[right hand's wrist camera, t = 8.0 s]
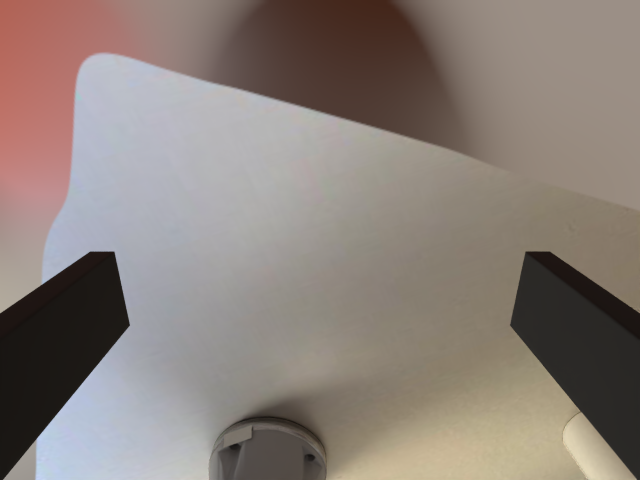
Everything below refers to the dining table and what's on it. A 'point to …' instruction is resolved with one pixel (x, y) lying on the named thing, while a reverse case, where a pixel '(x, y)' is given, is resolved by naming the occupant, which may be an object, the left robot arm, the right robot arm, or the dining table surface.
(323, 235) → the dining table surface
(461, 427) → the dining table surface
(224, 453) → the right robot arm
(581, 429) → the jar
